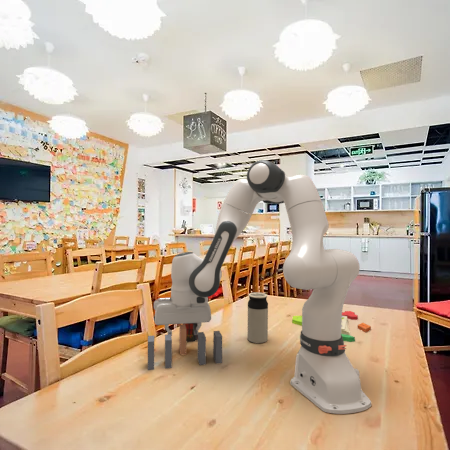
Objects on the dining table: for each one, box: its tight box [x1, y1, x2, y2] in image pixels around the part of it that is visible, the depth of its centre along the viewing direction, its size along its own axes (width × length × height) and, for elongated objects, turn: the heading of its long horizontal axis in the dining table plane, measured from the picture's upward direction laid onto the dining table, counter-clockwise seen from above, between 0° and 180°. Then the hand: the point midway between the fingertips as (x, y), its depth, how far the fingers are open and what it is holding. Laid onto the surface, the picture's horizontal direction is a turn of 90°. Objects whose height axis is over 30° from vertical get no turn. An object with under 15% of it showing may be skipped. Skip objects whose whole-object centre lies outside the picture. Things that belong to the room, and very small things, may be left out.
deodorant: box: [185, 323, 198, 343], centre depth 123 cm, size 6×6×15 cm
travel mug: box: [246, 292, 269, 344], centre depth 123 cm, size 8×8×18 cm
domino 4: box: [197, 331, 207, 366], centre depth 104 cm, size 2×5×9 cm, turn 13°
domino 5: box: [212, 330, 223, 364], centre depth 105 cm, size 2×5×9 cm, turn 13°
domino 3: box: [178, 324, 187, 356], centre depth 111 cm, size 2×5×9 cm, turn 13°
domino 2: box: [164, 334, 173, 369], centre depth 101 cm, size 2×5×9 cm, turn 13°
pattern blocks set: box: [291, 310, 372, 343], centre depth 141 cm, size 38×34×3 cm
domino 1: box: [147, 335, 155, 371], centre depth 100 cm, size 2×5×9 cm, turn 13°
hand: (182, 335), depth 112 cm, fingers open, 8 cm apart
